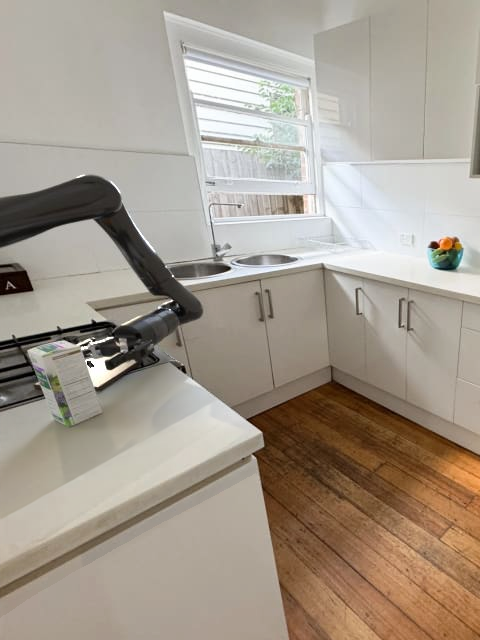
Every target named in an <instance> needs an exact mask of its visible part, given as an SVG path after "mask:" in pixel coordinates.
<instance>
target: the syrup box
mask: <svg viewBox="0 0 480 640" xmlns="http://www.w3.org/2000/svg"><path fill="white" fill-rule="evenodd" d="M27 354H28V357H29V359H30V362H31V364H32V367H33V370H34V372H35V375H36V377H37V380H38V382H39V383H40V385H41V388H42V389H41V390H42V393H43V397H44V398H45V401H46V403H47V406H48V408H49V410H50V414H51V416H52V419H53V420H54V421H57V422H58V423H60V424H62V425H64V426H66V427H67V428H72V427H73V426H76V425H78V424H80V423H83V422H84V421H88V420H90V419H92V418H93V417H96V416H98V415H100V414H102V413H103V409H102V407H101V404H100V401H99V398H98V393H97V391H95V388H94V385H93V382H92V379H91V376H90V373H89V370H88V367H87V364H86V361H85V358H84V356H85V355H83V352H82V350H81V347H80V346H77V345H76V343H75V344H74V343H72V342H69V341H67V340H58V341H54V342H49V343H45V344H41V345H38V346H36V347H32V348H30V349H27Z"/></svg>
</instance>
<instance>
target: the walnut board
mask: <svg viewBox="0 0 480 640" xmlns="http://www.w3.org/2000/svg"><path fill="white" fill-rule="evenodd" d="M110 357H111V356H107V357H103V358H100V359H93V358H91V359H87V360H85V361H86V364H87V361H91V363H92V364H93V365H94V367H91V368H90V367H89V366H88V365H87V367H88V370H89V373H90V376H91V379H92V382H93V385H94V388H95V391H96V392H100V391H103V390H104V389H105V388H107V387H109V385H111V384H113V383H114V382H116V381H117V380H119V379H120V378H121V377H123V376H125V375H126V374H127V373H129V372H130V371H132V370H134V369H135V368H137V367H138V366H140V365H141V364H142V363H144V359H142V360H141V361H139V362H135V361H134V360H131V361H130V362H128V363H123V364H121V365H120V366H118V367H116V368H115V369H113V370H107V369H106V366H105V360H106V359H108V358H110ZM128 371H129V372H128ZM126 372H127V373H126ZM125 373H126V374H125ZM33 388H34V389H35V390H42V388H41V385H40V383H39V381H38V382H36V383H34V384H33Z"/></svg>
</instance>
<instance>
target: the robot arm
mask: <svg viewBox="0 0 480 640" xmlns="http://www.w3.org/2000/svg"><path fill="white" fill-rule="evenodd" d="M90 220H91V221H92V220H93V221H94V222H95V223H96V224H97V225H98V226H99V227H100V228H101V229H102V230H103V232H104V233H106V235H107V236H108V237H109V238H110V239H111V240H112V242H113V243H114V244H115V246H116V248H117V249H118V250H119V252H120V253H121V255H122V256H123V257H124V259H125V261H126V262H127V264H128V265H129V267H130V269H131V270H132V271H133V273H134V274H135V275H136V276H137V278H138V279H139V281H140V282H141V283H142V284H143V286H144V287H145V288H146V289H147V291H148V292H149V294H151V295H152V296H153V297H168V298H169V299H171V300H168V301H166V302H163V303H162V304H160V305H158V306H157V307H156V308H154V309H152V310H151V311H149V312H147V313H145V314H141V315H138V316H136V317H134V318H132V319H130V320H128V321H126V322H124V323H122V324H120V325H118V326H116V327H115V328H114V329H113V330H112V332H111V333H110V336H109V337H105V338H103V339H101V340H97V339H96V337H90V338H88V339H85V340H83V341H81V342H79V343H75V345H77V346H80V347H81V350H82V352H83V355H84V358H85V360H87V359H91V358H93V359H100V358H103V357H110V358H108V359H106V360H105V366H106V369H107V370H113V369H115V368H116V367H118V366H120V365H121V364H123V363H128V362H130V361H131V360H134V361H135V362H139V361H141V360H142V359H143V360H144V359H146V358H147V357H149V355H151V354H152V353H154V352H155V351H156V350H155V346H156V345H158V344H159V343H161V342H162V341H163V340H164V339H165V338H167V337H168V336H170V335H172V334H173V333H174V332H176V331H177V329H178V328H179V327H180V326H183V325H186V324H188V323H192V322H195V321H198V320H199V319H201V318H202V317H203V314H204V306H203V303H202V302H201V300H200V299H199V297H197V295H195V294H194V293H193V292H192V291H190V289H188V288H187V287H186V286H185V285H183V284H182V283H181V282H180V281H179V280H178V279H177V278H176V277H175V275H174V274H173V273H172V271H171V270H170V269H169V267H168V266H167V264H166V263H165V261H163V259H162V257H160V255H159V254H158V253H157V251H156V250H155V249H154V248H153V247H152V245H151V244H150V243H149V242H148V241H147V240H146V238H145V237H144V236H143V234H142V233H141V232H140V230H139V228H138V227H137V226H136V223H134V220H133V219H132V218H131V216H130V214H129V212H128V210H127V208H126V207H125V205H124V203H123V196H122V194H121V191H120V189H119V188H118V187H117V186H116V185H115V184H114V183H113V182H112V181H111V180H109V179H108V178H106V177H103V176H101V175H98V174H91V173H90V174H89V173H88V174H82V175H79V176H76V177H74V178H72V179H70V180H66V181H64V182H61V183H59V184H55V185H53V186H49V187H46V188H43V189H40V190H38V191H32V192H27V193H20V194H13V195H5V196H0V250H1V249H4V248H8V247H10V246H14V245H17V244H19V243H22V242H25V241H27V240H30V239H32V238H34V237H38V236H40V235H41V234H44V233H46V232H48V231H51V230H52V229H55V228H58V227H59V228H60V227H63V226H66V225H71V224H74V223H81V222H85V221H90ZM98 349H99V354H98V353H97V350H98Z"/></svg>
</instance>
